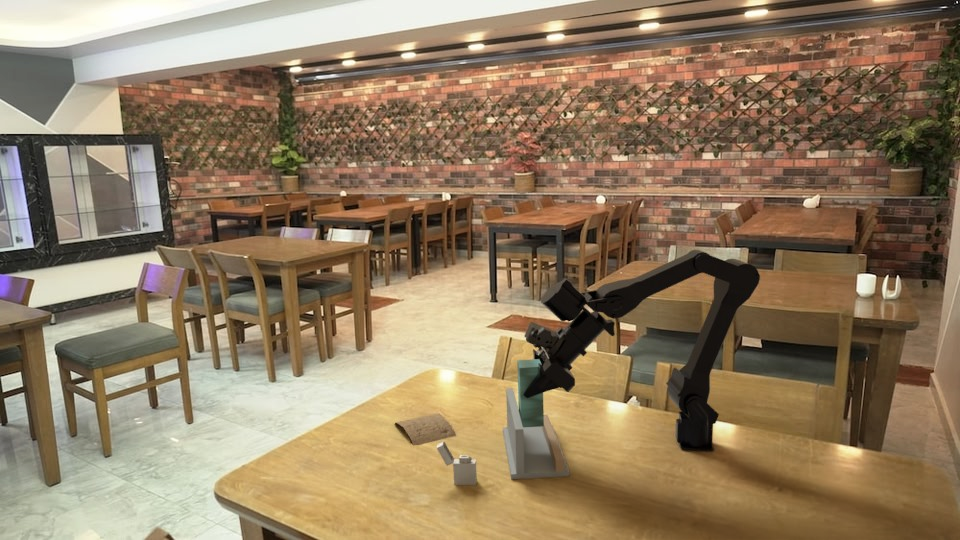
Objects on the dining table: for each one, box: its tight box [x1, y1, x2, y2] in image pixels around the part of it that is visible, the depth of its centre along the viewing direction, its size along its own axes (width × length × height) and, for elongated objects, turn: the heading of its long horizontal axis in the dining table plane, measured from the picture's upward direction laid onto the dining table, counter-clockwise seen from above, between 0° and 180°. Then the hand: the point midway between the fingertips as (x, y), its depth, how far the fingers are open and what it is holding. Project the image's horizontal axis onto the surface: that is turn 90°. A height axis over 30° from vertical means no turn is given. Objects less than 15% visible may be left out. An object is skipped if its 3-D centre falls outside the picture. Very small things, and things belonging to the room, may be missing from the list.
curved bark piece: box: [396, 412, 457, 446], centre depth 137 cm, size 14×10×3 cm
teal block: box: [516, 358, 545, 427], centre depth 122 cm, size 4×4×12 cm
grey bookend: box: [502, 387, 570, 480], centre depth 124 cm, size 11×20×10 cm, turn 2°
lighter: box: [436, 440, 478, 486], centre depth 114 cm, size 7×2×8 cm, turn 85°
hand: (523, 391), depth 122 cm, fingers closed on teal block, 4 cm apart
